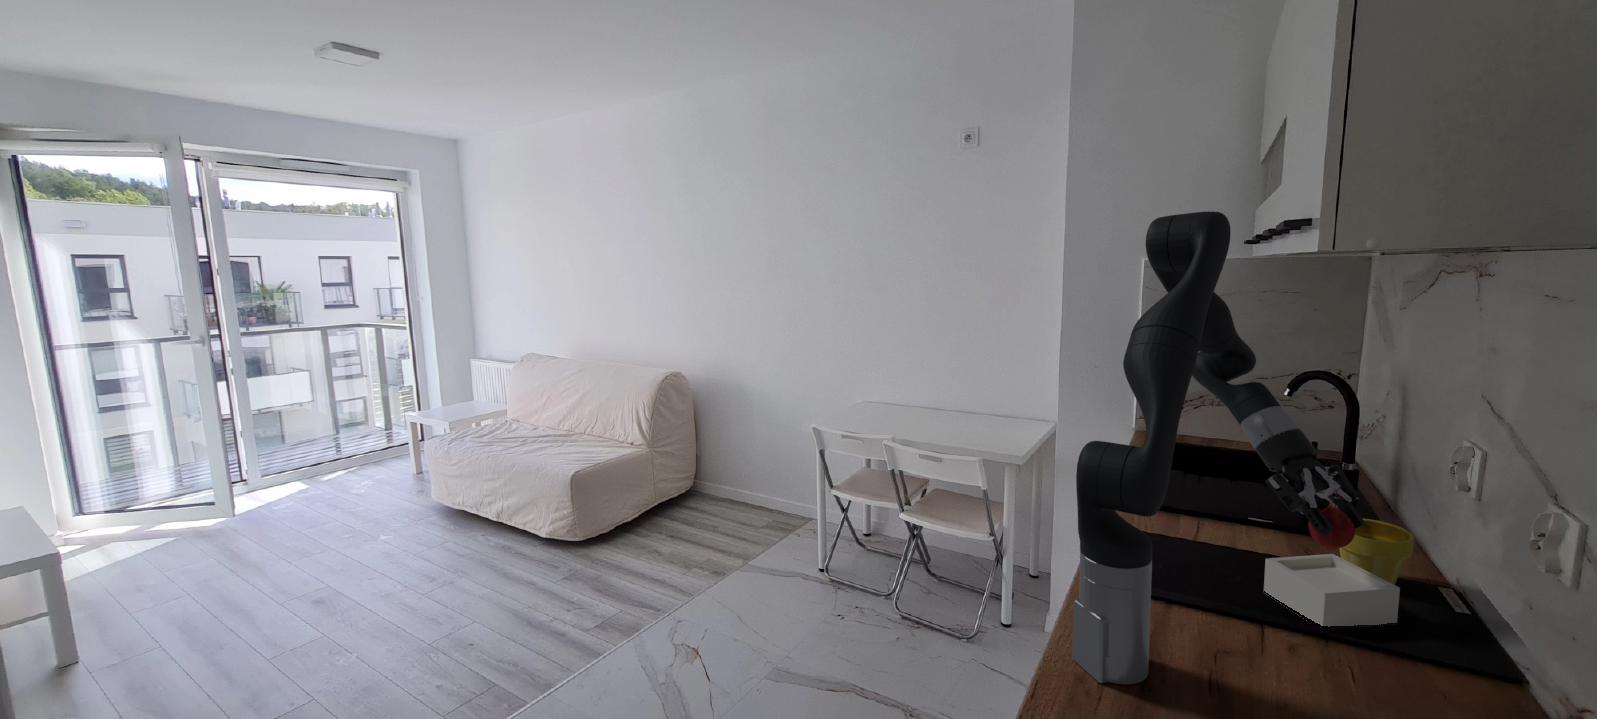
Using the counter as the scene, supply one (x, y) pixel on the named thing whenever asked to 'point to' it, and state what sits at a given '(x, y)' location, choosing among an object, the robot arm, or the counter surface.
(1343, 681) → the counter surface
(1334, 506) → the onion
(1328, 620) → the tray
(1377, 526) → the plant pot
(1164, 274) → the robot arm
